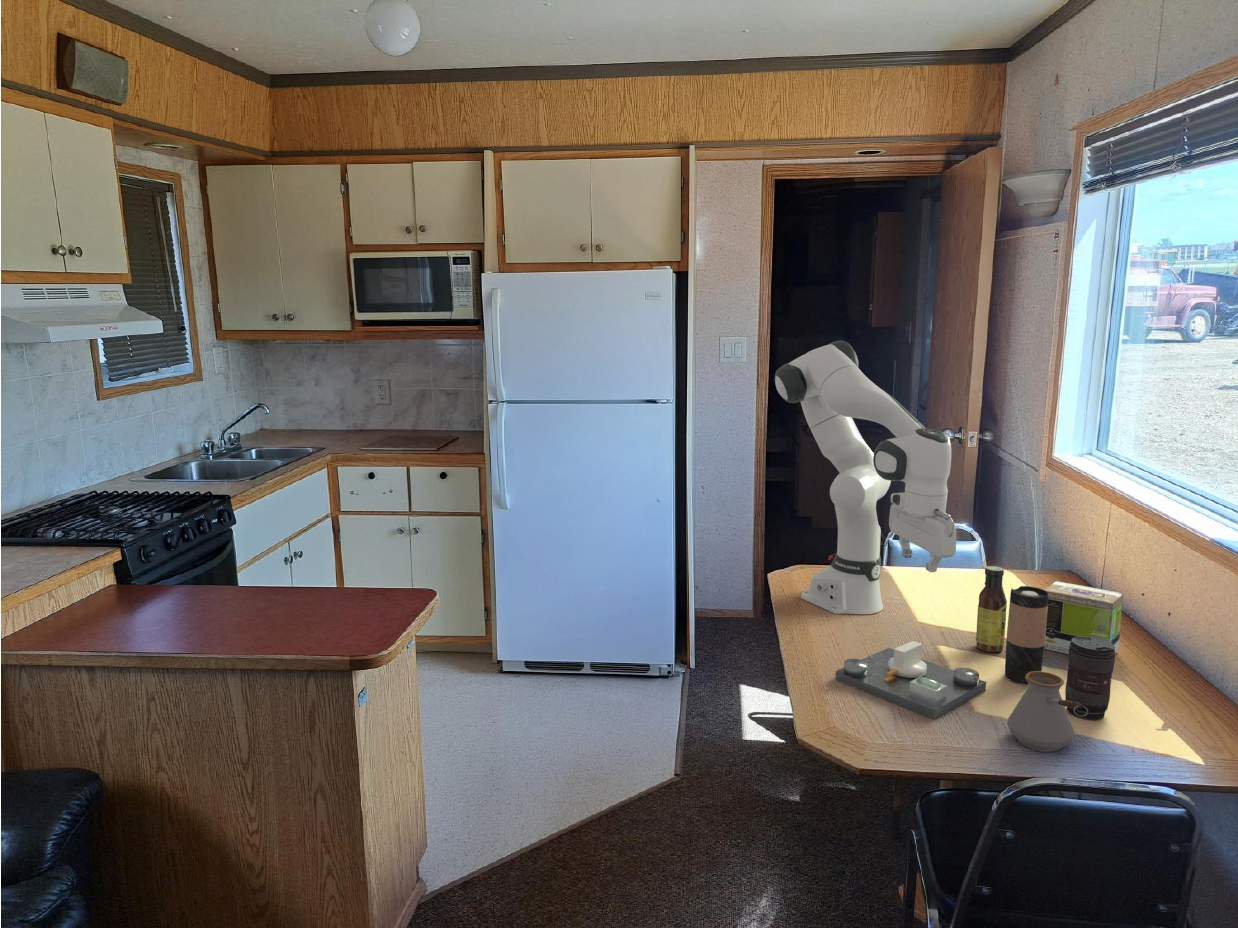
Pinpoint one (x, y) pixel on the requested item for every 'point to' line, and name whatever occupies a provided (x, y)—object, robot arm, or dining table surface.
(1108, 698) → the camera lens
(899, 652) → the knob
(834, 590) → the robot arm
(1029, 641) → the travel mug
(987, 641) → the sauce bottle
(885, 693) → the levelling base
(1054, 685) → the coffee pot
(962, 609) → the dining table surface
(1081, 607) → the tea box
